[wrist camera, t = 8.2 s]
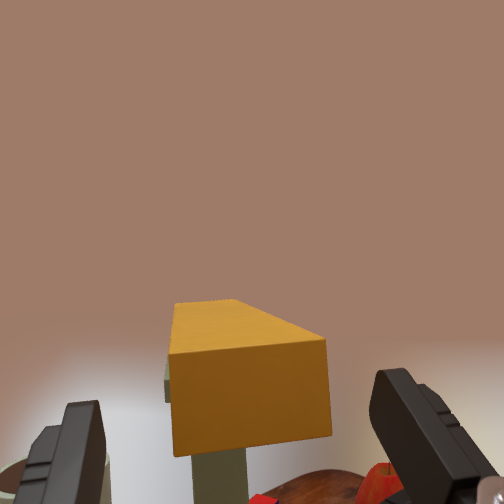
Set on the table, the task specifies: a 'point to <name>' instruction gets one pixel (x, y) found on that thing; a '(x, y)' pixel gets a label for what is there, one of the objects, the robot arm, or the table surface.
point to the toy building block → (262, 500)
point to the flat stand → (217, 471)
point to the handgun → (397, 498)
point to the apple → (379, 484)
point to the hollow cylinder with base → (8, 478)
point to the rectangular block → (244, 379)
